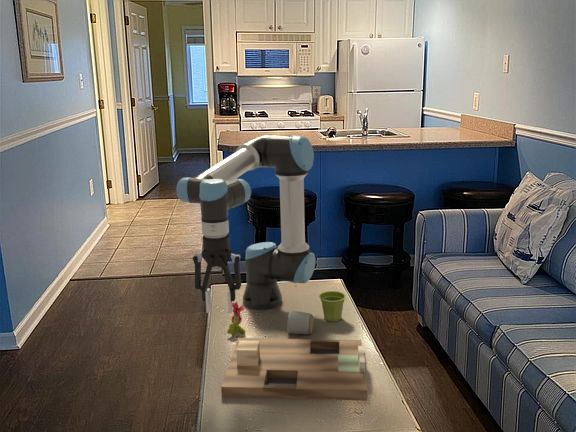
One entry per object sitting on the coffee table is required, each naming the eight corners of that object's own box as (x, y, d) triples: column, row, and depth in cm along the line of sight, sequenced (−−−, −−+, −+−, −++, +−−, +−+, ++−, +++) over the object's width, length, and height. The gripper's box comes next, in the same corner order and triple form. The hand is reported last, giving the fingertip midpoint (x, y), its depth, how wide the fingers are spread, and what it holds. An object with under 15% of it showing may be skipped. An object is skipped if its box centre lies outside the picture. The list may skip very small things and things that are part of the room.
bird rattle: (226, 335, 193) (227, 336, 184) (225, 302, 195) (225, 302, 186) (244, 333, 194) (246, 334, 185) (243, 301, 195) (244, 301, 187)
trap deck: (238, 346, 180) (237, 329, 179) (361, 348, 177) (361, 331, 176) (221, 396, 152) (220, 376, 151) (366, 400, 149) (367, 380, 148)
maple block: (240, 355, 168) (239, 340, 167) (259, 355, 168) (259, 340, 166) (237, 365, 162) (236, 350, 161) (257, 366, 162) (256, 350, 161)
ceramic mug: (310, 338, 185) (310, 317, 183) (286, 336, 186) (286, 315, 184) (315, 325, 195) (315, 305, 193) (292, 323, 196) (292, 303, 194)
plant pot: (326, 326, 194) (327, 302, 192) (315, 315, 202) (314, 293, 200) (350, 321, 197) (350, 298, 195) (337, 311, 206) (337, 289, 204)
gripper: (179, 238, 153) (184, 316, 159) (246, 238, 152) (249, 317, 157) (186, 230, 160) (191, 305, 166) (250, 231, 159) (253, 306, 165)
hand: (219, 310), depth 162 cm, fingers open, 6 cm apart
